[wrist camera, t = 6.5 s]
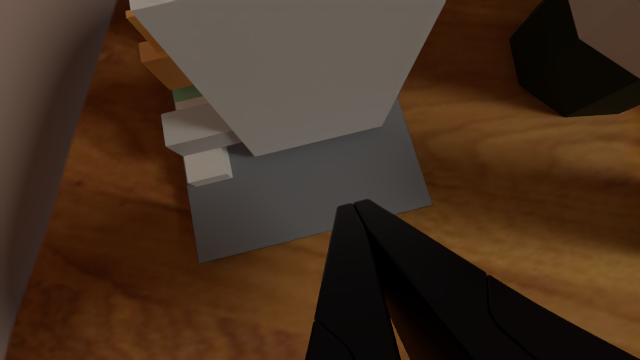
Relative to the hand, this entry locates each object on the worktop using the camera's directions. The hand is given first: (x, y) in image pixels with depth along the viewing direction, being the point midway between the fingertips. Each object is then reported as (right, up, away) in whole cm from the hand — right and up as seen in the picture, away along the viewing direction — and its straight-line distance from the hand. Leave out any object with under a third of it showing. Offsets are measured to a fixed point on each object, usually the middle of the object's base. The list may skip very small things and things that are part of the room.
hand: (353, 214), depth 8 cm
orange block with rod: (-8, +6, +7) cm, 13 cm away
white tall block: (-3, +4, +8) cm, 9 cm away
